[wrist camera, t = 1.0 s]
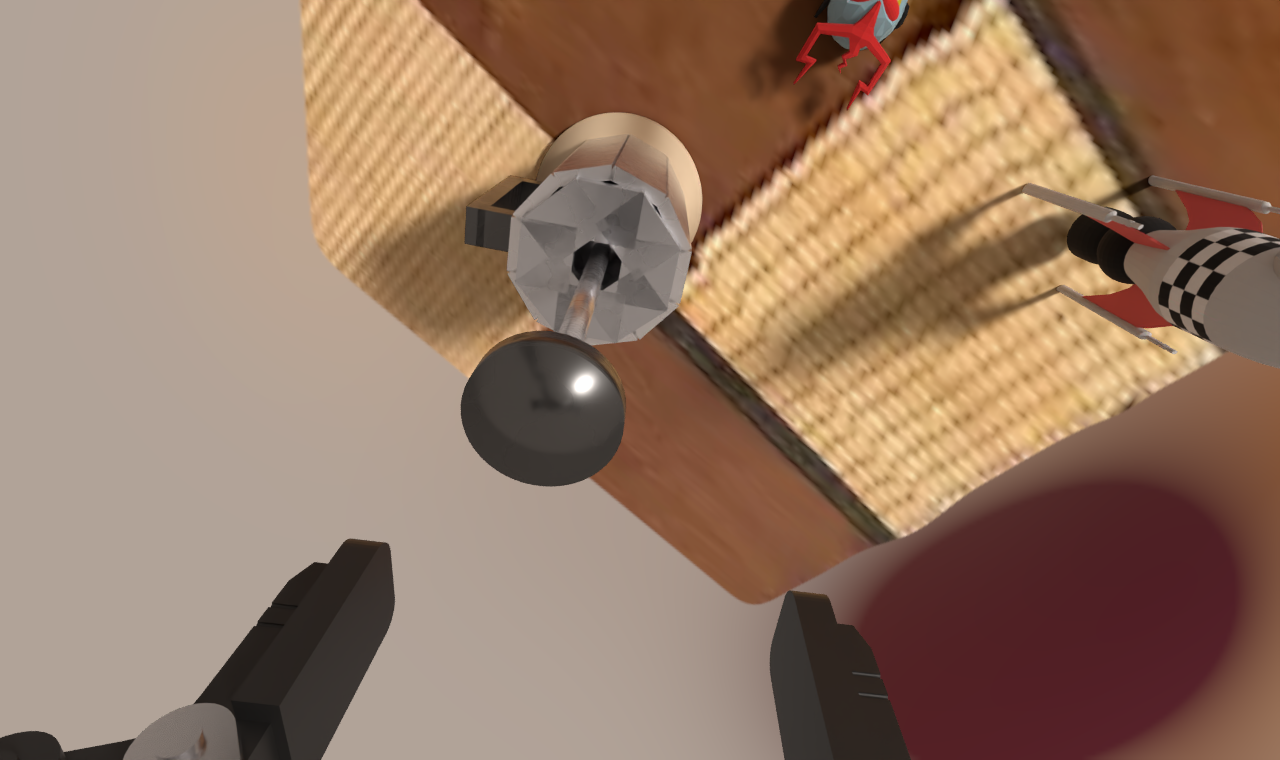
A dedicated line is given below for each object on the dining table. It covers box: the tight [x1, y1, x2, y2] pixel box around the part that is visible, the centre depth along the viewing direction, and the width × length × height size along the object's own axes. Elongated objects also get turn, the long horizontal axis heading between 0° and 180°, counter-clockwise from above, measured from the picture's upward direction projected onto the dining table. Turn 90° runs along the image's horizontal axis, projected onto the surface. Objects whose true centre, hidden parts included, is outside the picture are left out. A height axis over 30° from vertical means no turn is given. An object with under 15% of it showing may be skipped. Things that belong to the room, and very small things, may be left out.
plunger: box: [461, 241, 626, 486], centre depth 25 cm, size 6×6×18 cm
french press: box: [465, 134, 692, 345], centre depth 37 cm, size 12×10×15 cm
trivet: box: [536, 112, 702, 242], centre depth 44 cm, size 12×12×1 cm
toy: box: [1022, 176, 1280, 368], centre depth 31 cm, size 9×8×30 cm
